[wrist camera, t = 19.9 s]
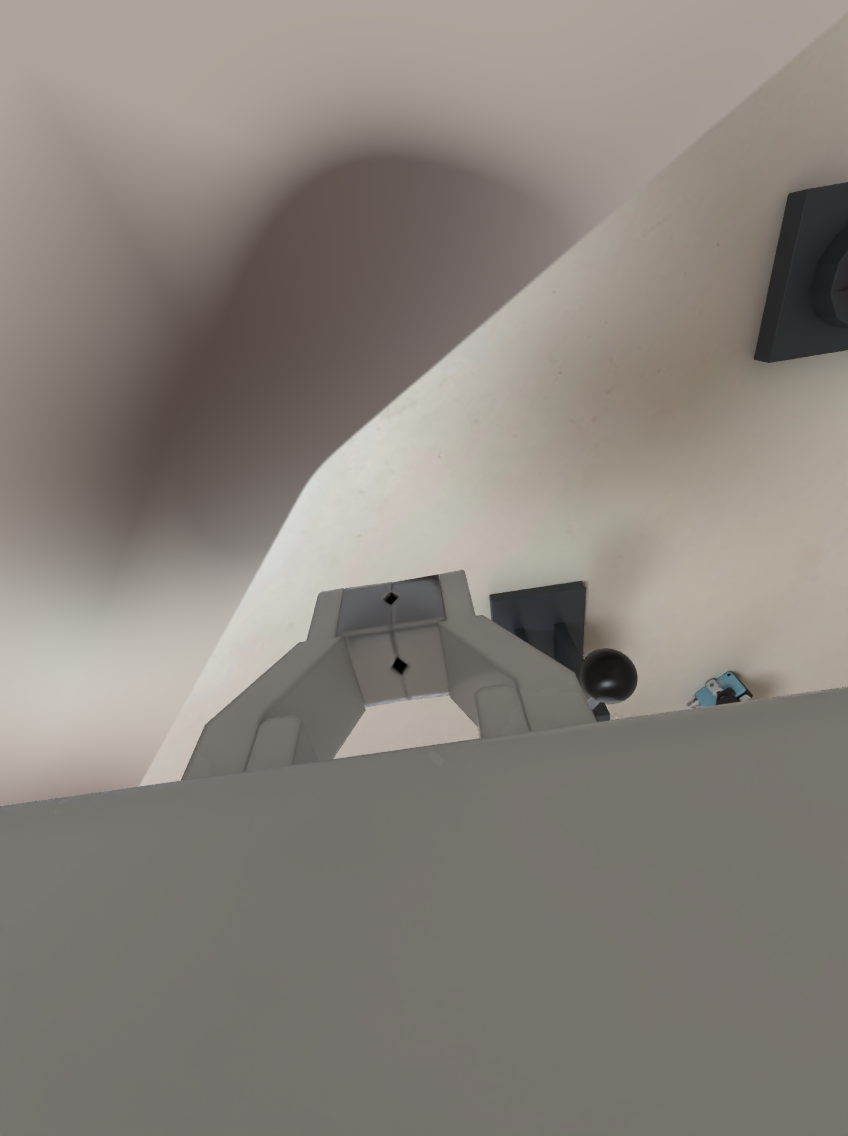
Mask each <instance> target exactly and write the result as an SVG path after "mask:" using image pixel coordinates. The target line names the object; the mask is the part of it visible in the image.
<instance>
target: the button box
mask: <svg viewBox="0 0 848 1136" xmlns="http://www.w3.org/2000/svg"><path fill="white" fill-rule="evenodd" d="M844 350H848V182H846V183H840V184H834V185H829V186H823V187H817V188H811V189H806V190H802V191H798V192H793V193H790V194H789V195H788V199H787V204H786V209H785V214H784V218H783V223H782V228H781V233H780V238H779V242H778V247H777V252H776V257H775V262H774V266H773V271H772V276H771V281H770V286H769V290H768V295H767V300H766V305H765V309H764V314H763V319H762V324H761V329H760V333H759V338H758V343H757V348H756V353H755V357H754V360H758V361H763V362H768V363H771V362H777V361H783V360H789V359H795V358H802V357H808V356H814V355H820V354H826V353H832V352H838V351H844Z"/></svg>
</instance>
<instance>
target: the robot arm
mask: <svg viewBox="0 0 848 1136" xmlns="http://www.w3.org/2000/svg"><path fill="white" fill-rule="evenodd" d="M440 584H441V585H440ZM441 590H442V591H441ZM443 603H444V604H443ZM449 695H450V697H451V698H452V700H453V701H454V702H455V703H456V704H457V705H458V706H459V707H460V708H461V709H462V710H463V711H464V713H465V714H466V715H467V716H468V717H469V718H470V719H471V720H472V721H473V722H474V723H475V724H476V726H477V727H478V731H479V739H473V740H466V741H458V742H451V743H444V744H437V745H430V746H423V747H416V748H409V749H402V750H395V751H388V752H381V753H374V754H367V755H360V756H353V757H346V758H339V759H333V758H334V757H335V755H336V754H337V752H338V751H339V749H340V748H341V746H342V745H343V743H344V742H345V740H346V739H347V737H348V736H349V734H350V733H351V731H352V730H353V728H354V727H355V725H356V724H357V722H358V721H359V719H360V718H361V716H362V715H363V713H364V711H365V708H366V707H371V706H377V705H383V704H389V703H395V702H401V701H406V700H415V699H423V698H432V697H440V696H449ZM0 1136H848V687H842V688H835V689H827V690H820V691H813V692H806V693H799V694H792V695H785V696H778V697H771V698H764V699H756V700H749V701H742V702H735V703H728V704H721V705H714V706H707V707H700V708H693V709H686V710H679V711H673V712H666V713H659V714H652V715H645V716H637V717H630V718H623V719H616V720H609V721H602V722H597V721H596V719H595V716H594V714H593V712H592V710H591V708H590V706H589V703H588V701H587V699H586V697H585V695H584V693H583V690H582V688H581V686H580V684H579V682H578V680H577V677H576V675H575V673H574V672H573V671H571V670H570V669H568V668H566V667H565V666H563V665H562V664H560V663H558V662H557V661H555V660H554V659H552V658H550V657H549V656H547V655H546V654H544V653H542V652H541V651H539V650H538V649H536V648H534V647H533V646H531V645H530V644H528V643H527V642H525V641H523V640H522V639H520V638H519V637H517V636H515V635H514V634H512V633H511V632H509V631H507V630H506V629H504V628H503V627H501V626H499V625H498V624H496V623H495V622H493V621H491V620H490V619H488V618H487V617H485V616H483V615H480V616H475V612H474V608H473V603H472V599H471V595H470V591H469V587H468V583H467V579H466V575H465V571H463V570H459V571H453V572H448V573H443V574H440V579H439V574H438V575H432V576H427V577H421V578H416V579H410V580H404V581H399V582H393V583H392V582H388V583H381V584H373V585H365V586H358V587H350V588H345V589H344V588H341V589H335V590H329V591H323V592H321V593H319V595H318V597H317V601H316V605H315V609H314V613H313V617H312V621H311V625H310V629H309V633H308V637H307V641H305V642H299V643H298V644H297V645H296V646H295V647H293V648H292V649H291V650H290V651H289V652H288V653H287V654H285V655H284V656H283V657H282V658H281V659H280V660H279V661H278V662H276V663H275V664H274V665H273V666H272V667H271V668H270V669H268V670H267V671H266V672H265V673H264V674H263V675H262V676H260V677H259V678H258V679H257V680H256V681H255V682H254V683H252V684H251V685H250V686H249V687H248V688H247V689H246V690H244V691H243V692H242V693H241V694H240V695H239V696H238V697H236V698H235V699H234V700H233V701H232V702H231V703H230V704H228V705H227V706H226V707H225V708H224V709H223V710H222V711H220V712H219V713H218V714H217V715H216V716H215V717H214V718H212V719H211V720H210V721H209V722H208V723H207V724H206V725H205V726H204V729H203V731H202V733H201V736H200V738H199V740H198V742H197V745H196V747H195V749H194V752H193V754H192V756H191V758H190V761H189V763H188V765H187V768H186V770H185V772H184V774H183V777H182V779H181V781H176V782H169V783H162V784H155V785H147V786H140V787H133V788H126V789H119V790H112V791H105V792H98V793H91V794H83V795H76V796H70V797H62V798H55V799H48V800H41V801H34V802H27V803H19V804H12V805H5V806H0Z"/></svg>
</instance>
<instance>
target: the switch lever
mask: <svg viewBox="0 0 848 1136" xmlns="http://www.w3.org/2000/svg"><path fill="white" fill-rule="evenodd" d="M580 681H581V684H582V686H583V688H582V690H583V693H584V695H585V697H586V699H587V701H588V703H589V706H590V708H591V710H593V709H594V708H595V707H596V706H597V705H598V704H599V703H600V702H602V703H607V704H615V703H619V702H622V701H624V700H626V699H627V698H629V697H630V696H631V695H632V693H633V692H634V690H635V688H636V685H637V671H636V668H635V666H634V664H633V662H632V661H631V660H630V659H629V658H628V657H627V656H626V655H625V654H623V653H621V652H620V651H617V650H614V649H608V648H605V649H598V650H595V651H593V652H591V653H590V654H589V655H587V656H586V658H585V659H584V660H583V662H582V664H581V667H580Z"/></svg>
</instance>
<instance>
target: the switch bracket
mask: <svg viewBox="0 0 848 1136" xmlns="http://www.w3.org/2000/svg"><path fill="white" fill-rule="evenodd" d="M585 590H586V588H585V586H584V585H583V583H582V581H579V582H573V583H566V584H560V585H553V586H546V587H540V588H533V589H526V590H520V591H513V592H506V593H500V594H493V595H490V607H491V619H492V621H493V622H495V623H496V624H498V625H499V626H501V627H503V628H504V629H506V630H507V631H509V632H511V633H512V634H514V635H515V636H517V637H519V638H520V639H522V640H523V641H525V642H527V643H528V644H530V645H531V646H533V647H534V648H536V649H538V650H539V651H541V652H542V653H544V654H546V655H547V656H549V657H550V658H552V659H554V660H555V661H557V662H558V663H560V664H562V665H563V666H565V667H566V668H568V669H570V670H571V671H573V672H574V673H575V675H576V677H577V680H578V682H579V684H580V686H581V688H583V686H582V684H581V681H580V667H581V664H582V662H583V636H584V613H585ZM592 712H593V714H594V716H595V719H596V721H597V722H602V721H609V720H610V713H609V711H608V709H607V707H606V705H605V703H602V702H600V703H599V704H598V705H597V706H596V707H595V708H594V709H593V710H592Z"/></svg>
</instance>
